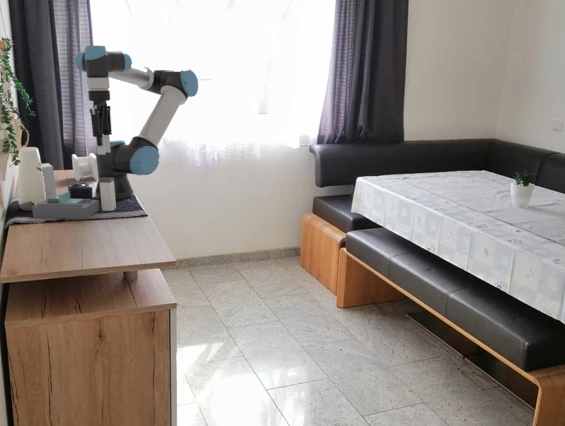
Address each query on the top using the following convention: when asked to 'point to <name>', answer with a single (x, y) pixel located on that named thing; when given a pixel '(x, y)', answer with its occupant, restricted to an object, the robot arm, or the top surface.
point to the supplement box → (49, 180)
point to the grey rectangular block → (107, 193)
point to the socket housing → (65, 209)
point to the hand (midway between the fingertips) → (104, 153)
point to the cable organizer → (84, 166)
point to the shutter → (68, 199)
